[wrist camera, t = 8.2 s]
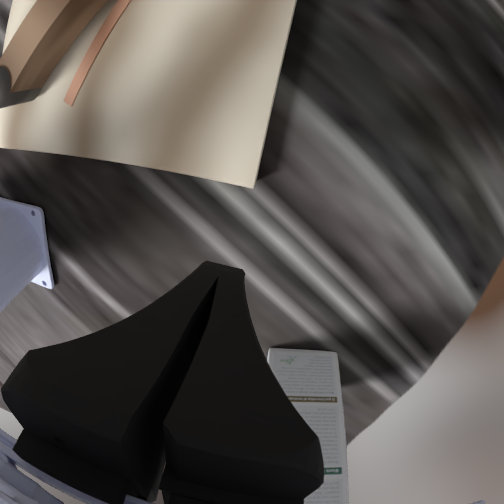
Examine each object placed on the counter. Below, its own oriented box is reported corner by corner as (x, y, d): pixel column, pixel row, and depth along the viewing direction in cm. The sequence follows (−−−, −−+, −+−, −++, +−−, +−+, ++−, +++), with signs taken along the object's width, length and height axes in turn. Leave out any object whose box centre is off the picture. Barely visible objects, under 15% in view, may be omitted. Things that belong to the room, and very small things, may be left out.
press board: (10, 142, 18) (-3, 147, 17) (53, -80, 8) (42, -84, 7) (256, 181, 18) (253, 189, 17) (321, -103, 8) (323, -115, 7)
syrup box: (267, 345, 25) (242, 523, 12) (340, 349, 24) (350, 525, 11) (264, 387, 27) (243, 535, 15) (328, 390, 27) (328, 538, 14)
